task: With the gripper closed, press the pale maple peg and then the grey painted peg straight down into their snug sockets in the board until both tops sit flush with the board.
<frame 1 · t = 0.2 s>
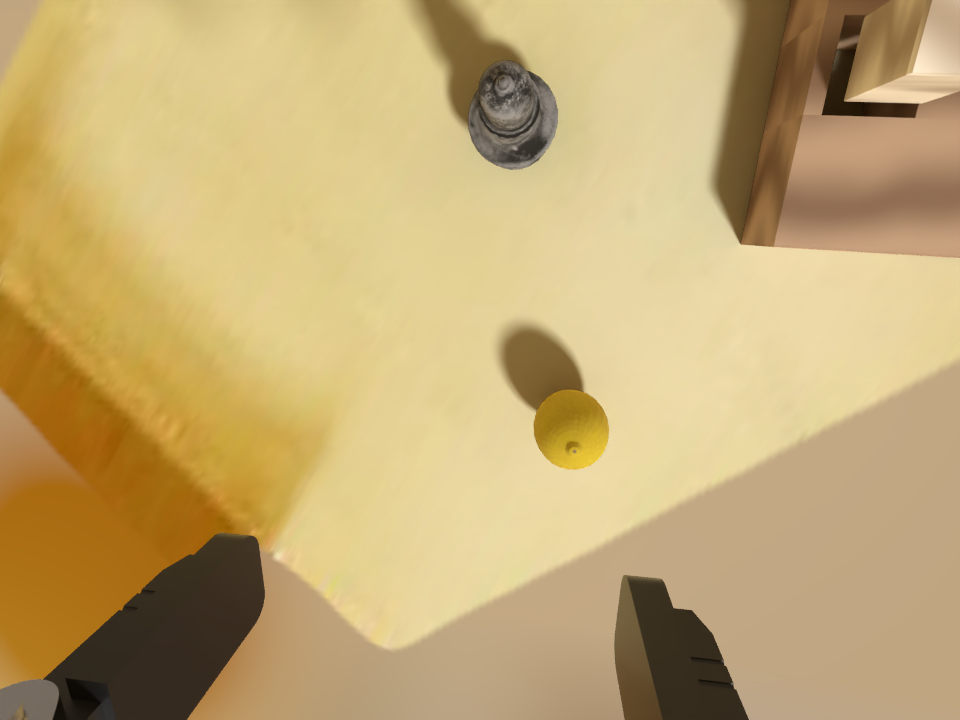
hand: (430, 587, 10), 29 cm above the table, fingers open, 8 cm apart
socket board: (901, 94, 30), on the table
lemon: (567, 407, 39), on the table
peg 2: (930, 43, 23), point 8 cm above the table, slide at 6.0 cm
salt shaker: (515, 131, 34), on the table
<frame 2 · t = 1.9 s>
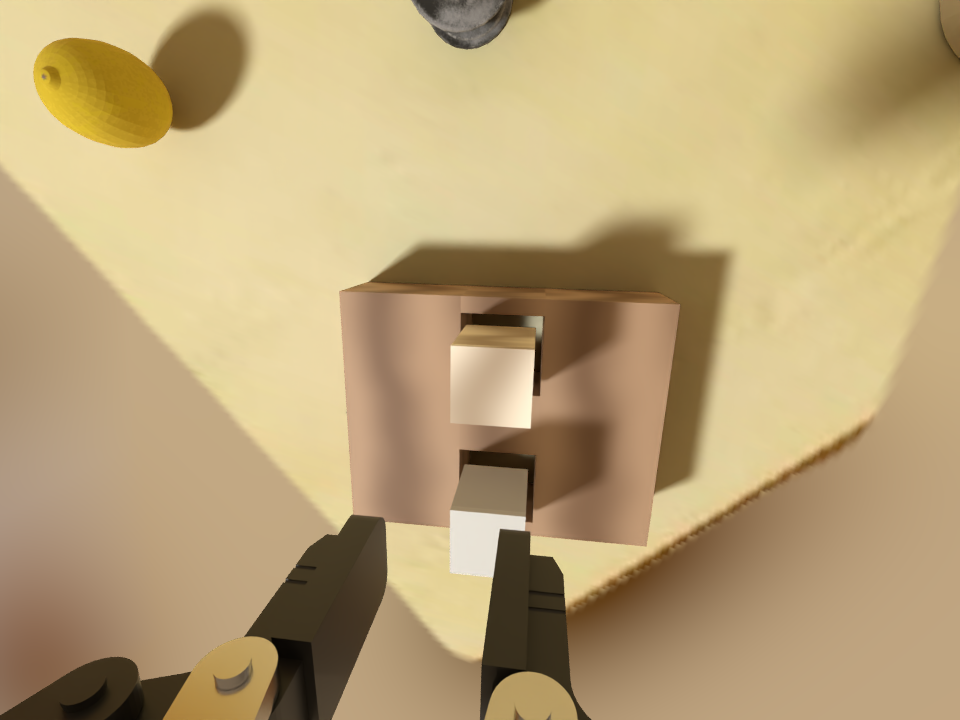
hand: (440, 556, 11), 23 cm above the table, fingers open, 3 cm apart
socket board: (504, 396, 34), on the table
peg 1: (491, 518, 27), point 9 cm above the table, slide at 6.0 cm
lemon: (164, 112, 32), on the table
peg 2: (495, 372, 25), point 9 cm above the table, slide at 6.0 cm
salt shaker: (469, 0, 28), on the table
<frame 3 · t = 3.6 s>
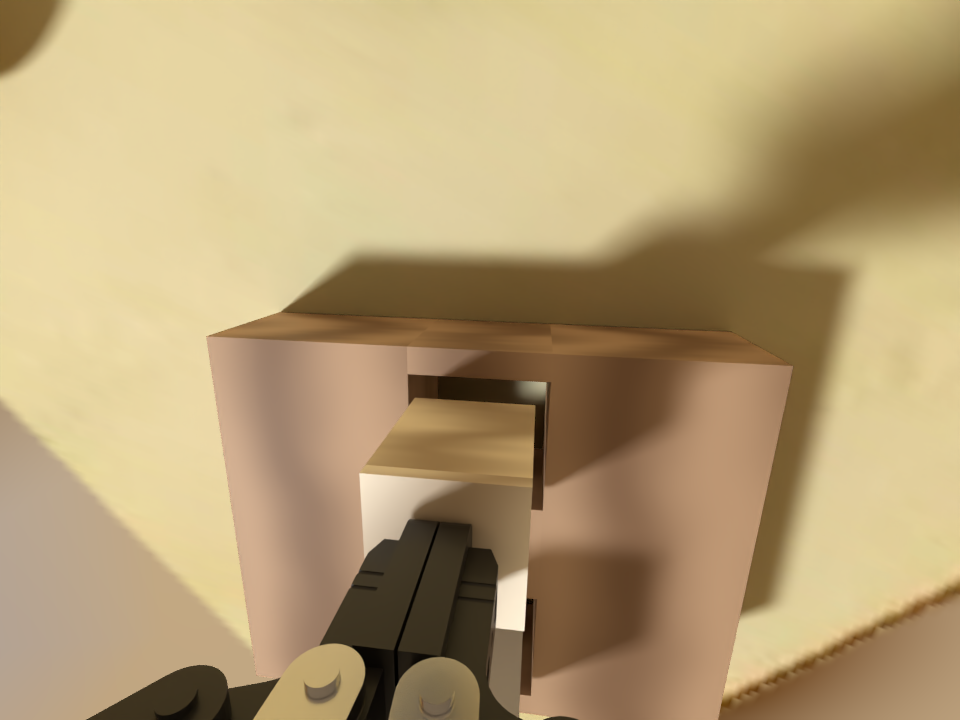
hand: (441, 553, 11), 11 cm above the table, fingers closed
socket board: (488, 482, 23), on the table
peg 2: (461, 496, 14), point 8 cm above the table, slide at 5.9 cm, touching gripper
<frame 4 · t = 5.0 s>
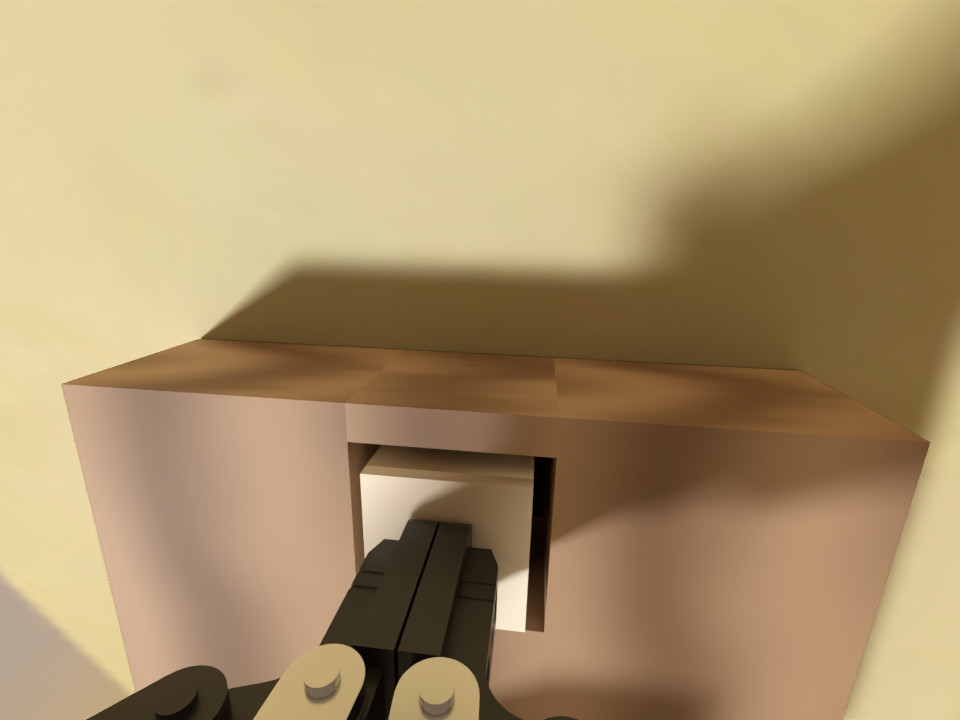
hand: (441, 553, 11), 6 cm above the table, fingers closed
socket board: (473, 557, 18), on the table
peg 2: (461, 497, 14), point 3 cm above the table, slide at 0.6 cm, touching gripper
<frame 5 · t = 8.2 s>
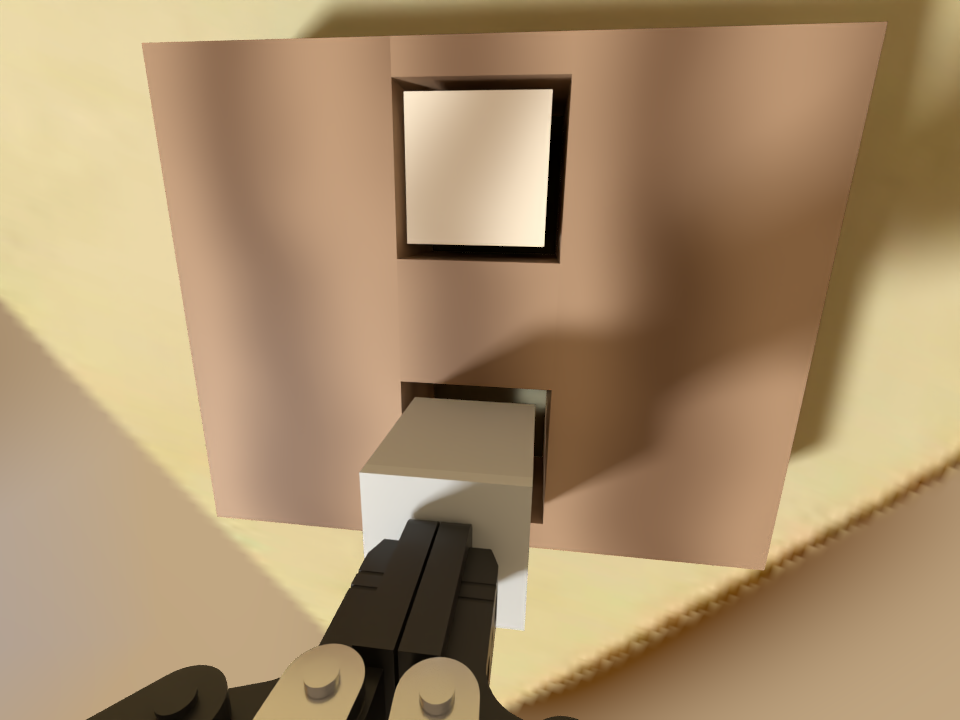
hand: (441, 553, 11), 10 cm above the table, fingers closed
socket board: (491, 301, 20), on the table
peg 1: (461, 496, 14), point 8 cm above the table, slide at 5.1 cm, touching gripper
peg 2: (485, 179, 15), point 3 cm above the table, slide at 0.5 cm
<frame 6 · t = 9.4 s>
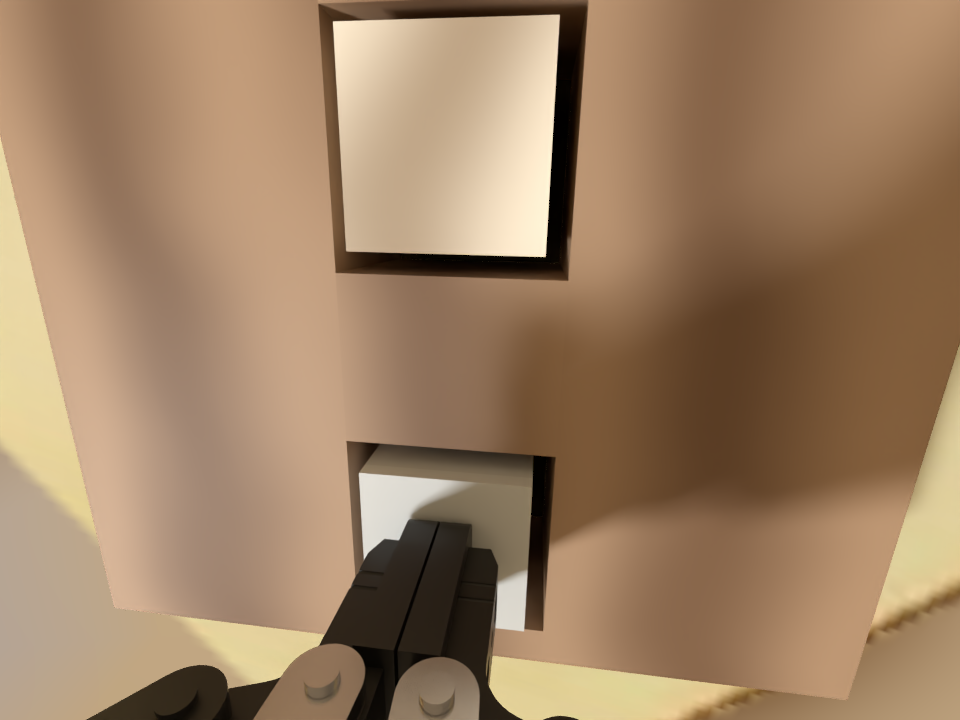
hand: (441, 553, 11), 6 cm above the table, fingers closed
socket board: (477, 323, 15), on the table
peg 1: (460, 496, 14), point 3 cm above the table, slide at 0.6 cm, touching gripper
peg 2: (464, 161, 11), point 3 cm above the table, slide at 0.5 cm
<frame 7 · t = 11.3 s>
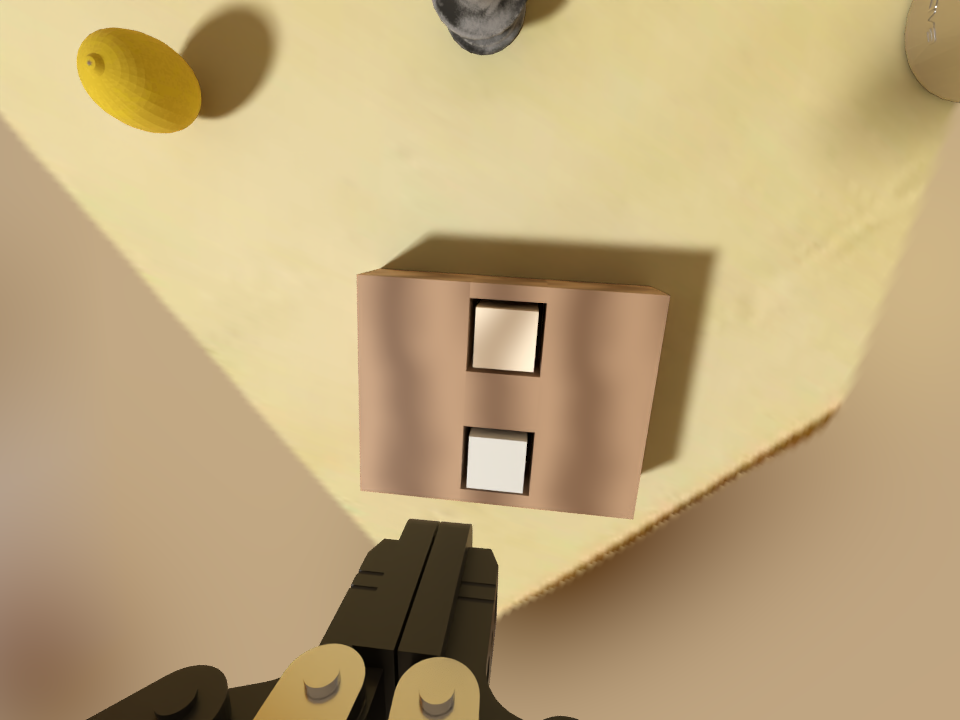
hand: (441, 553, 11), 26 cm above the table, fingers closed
socket board: (504, 379, 37), on the table
peg 1: (498, 449, 35), point 3 cm above the table, slide at 0.6 cm
lemon: (191, 101, 34), on the table
peg 2: (506, 332, 33), point 3 cm above the table, slide at 0.5 cm
salt shaker: (485, 10, 30), on the table
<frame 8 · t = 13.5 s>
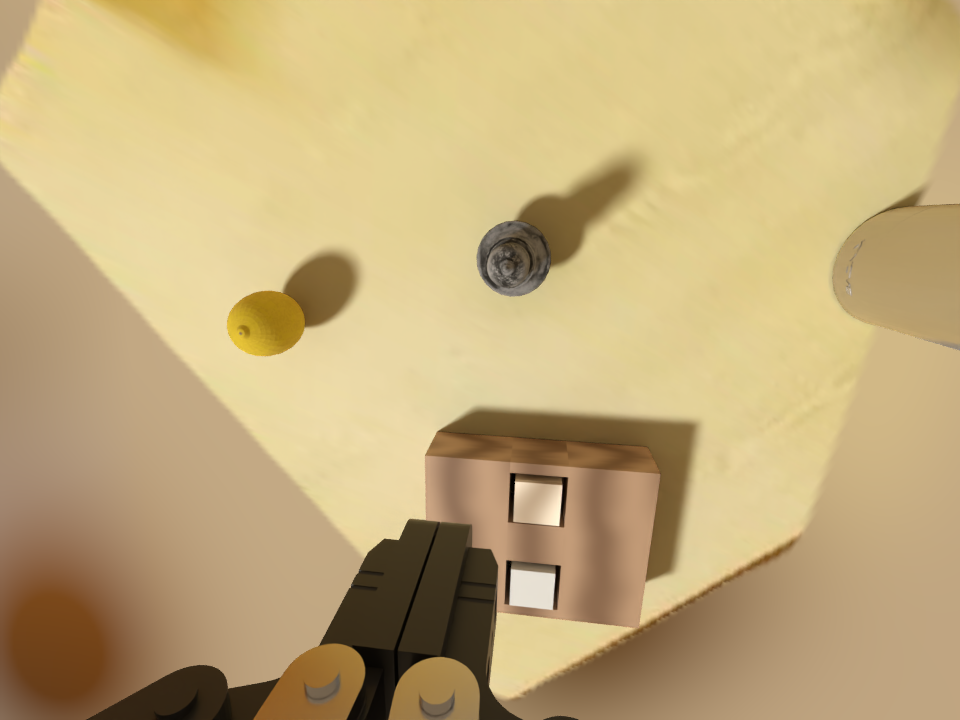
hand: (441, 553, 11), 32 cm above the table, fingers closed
socket board: (535, 511, 47), on the table
peg 1: (532, 570, 45), point 3 cm above the table, slide at 0.6 cm
lemon: (292, 314, 45), on the table
peg 2: (537, 488, 43), point 3 cm above the table, slide at 0.5 cm
salt shaker: (515, 256, 41), on the table
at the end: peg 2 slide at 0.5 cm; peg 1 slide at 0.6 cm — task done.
